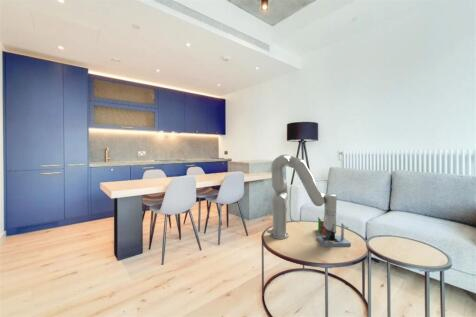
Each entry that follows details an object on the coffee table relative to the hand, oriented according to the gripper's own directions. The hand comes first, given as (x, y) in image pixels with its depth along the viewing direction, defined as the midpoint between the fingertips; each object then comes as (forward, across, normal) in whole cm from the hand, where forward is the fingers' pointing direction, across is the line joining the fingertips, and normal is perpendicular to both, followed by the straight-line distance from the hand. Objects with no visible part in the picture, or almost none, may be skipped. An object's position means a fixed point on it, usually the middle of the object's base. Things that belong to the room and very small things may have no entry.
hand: (330, 238), depth 150 cm
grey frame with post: (+3, 0, +2) cm, 4 cm away
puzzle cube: (+3, -18, +5) cm, 19 cm away
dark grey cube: (+1, 0, 0) cm, 1 cm away
